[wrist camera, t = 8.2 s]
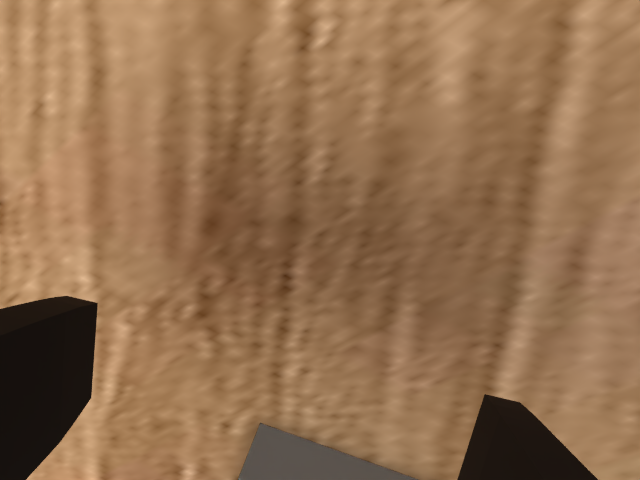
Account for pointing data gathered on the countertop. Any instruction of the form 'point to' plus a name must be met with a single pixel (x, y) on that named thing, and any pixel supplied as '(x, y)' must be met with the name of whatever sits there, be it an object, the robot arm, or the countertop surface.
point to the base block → (305, 461)
